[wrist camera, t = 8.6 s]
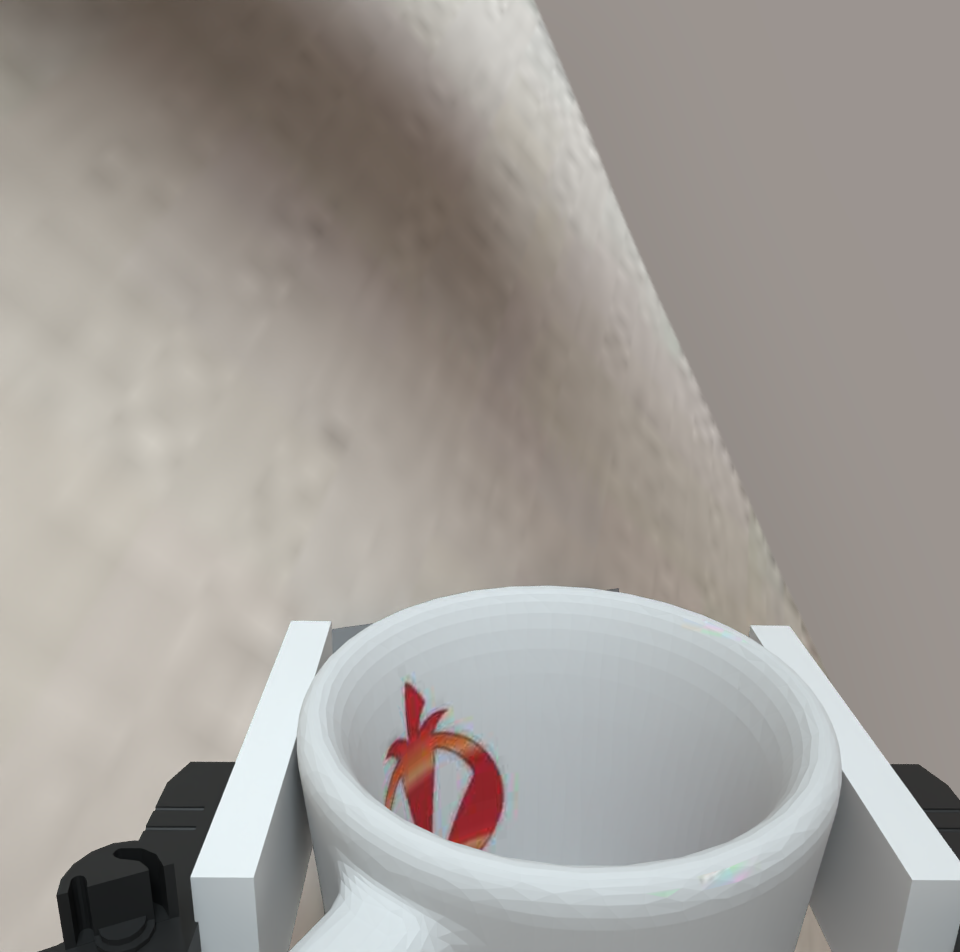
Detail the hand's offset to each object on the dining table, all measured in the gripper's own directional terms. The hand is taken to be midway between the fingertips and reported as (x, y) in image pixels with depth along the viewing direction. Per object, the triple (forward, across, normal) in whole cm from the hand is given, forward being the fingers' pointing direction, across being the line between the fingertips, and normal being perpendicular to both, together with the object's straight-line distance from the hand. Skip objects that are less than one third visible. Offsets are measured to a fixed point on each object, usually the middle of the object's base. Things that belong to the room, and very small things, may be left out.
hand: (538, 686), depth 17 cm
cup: (-4, -1, -6) cm, 8 cm away
